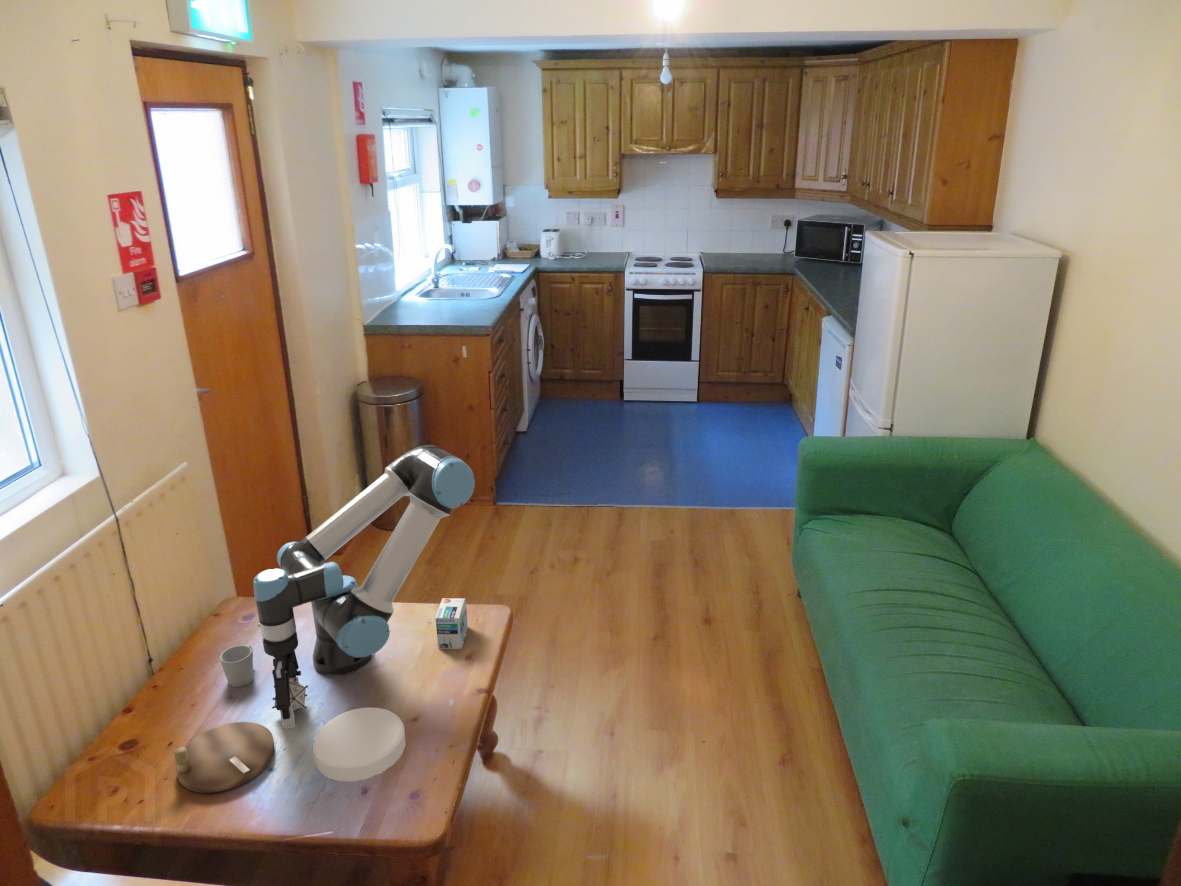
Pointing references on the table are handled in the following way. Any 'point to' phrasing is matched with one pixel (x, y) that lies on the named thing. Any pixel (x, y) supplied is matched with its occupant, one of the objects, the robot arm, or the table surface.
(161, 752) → the table surface
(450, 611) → the light bulb box
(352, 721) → the container
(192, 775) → the turntable
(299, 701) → the game die
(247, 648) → the cup
